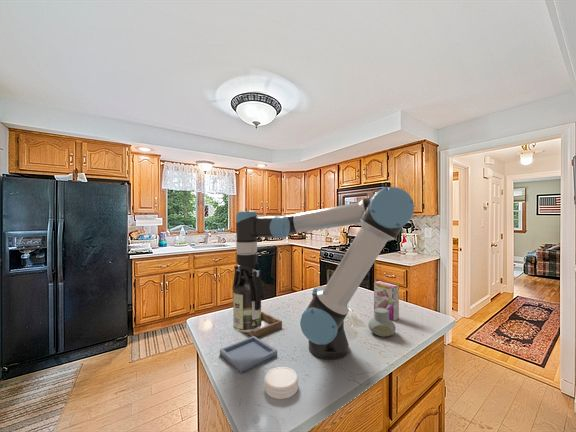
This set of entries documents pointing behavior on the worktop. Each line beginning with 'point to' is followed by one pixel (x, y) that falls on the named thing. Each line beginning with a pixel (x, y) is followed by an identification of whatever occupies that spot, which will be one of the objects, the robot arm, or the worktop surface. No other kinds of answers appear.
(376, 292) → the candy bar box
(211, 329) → the worktop surface
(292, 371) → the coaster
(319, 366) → the worktop surface
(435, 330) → the worktop surface
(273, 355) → the tray
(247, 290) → the coffee can
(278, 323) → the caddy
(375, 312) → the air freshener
